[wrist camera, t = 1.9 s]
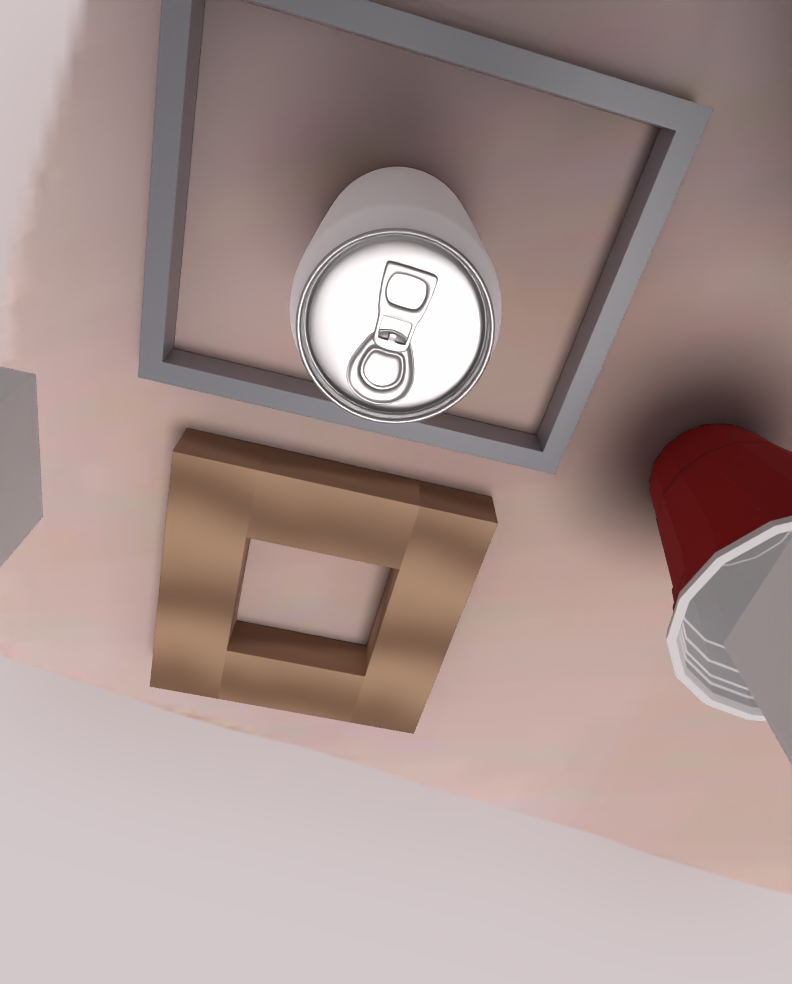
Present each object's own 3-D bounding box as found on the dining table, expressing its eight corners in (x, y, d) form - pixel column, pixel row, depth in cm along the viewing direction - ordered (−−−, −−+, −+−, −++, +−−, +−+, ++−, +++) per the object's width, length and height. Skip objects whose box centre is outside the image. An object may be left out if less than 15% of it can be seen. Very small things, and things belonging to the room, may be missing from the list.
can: (307, 297, 30) (259, 404, 20) (343, 142, 27) (308, 176, 17) (443, 338, 31) (465, 460, 21) (494, 193, 28) (547, 254, 18)
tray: (180, -54, 24) (165, -64, 23) (695, 107, 26) (713, 108, 25) (150, 363, 32) (138, 377, 30) (548, 457, 34) (554, 474, 33)
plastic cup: (559, 446, 34) (627, 602, 24) (772, 332, 31) (956, 454, 21) (643, 588, 39) (730, 769, 29) (836, 501, 36) (1011, 669, 25)
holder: (187, 428, 34) (172, 451, 32) (492, 497, 36) (497, 523, 34) (162, 655, 42) (149, 686, 40) (413, 702, 44) (413, 733, 42)
